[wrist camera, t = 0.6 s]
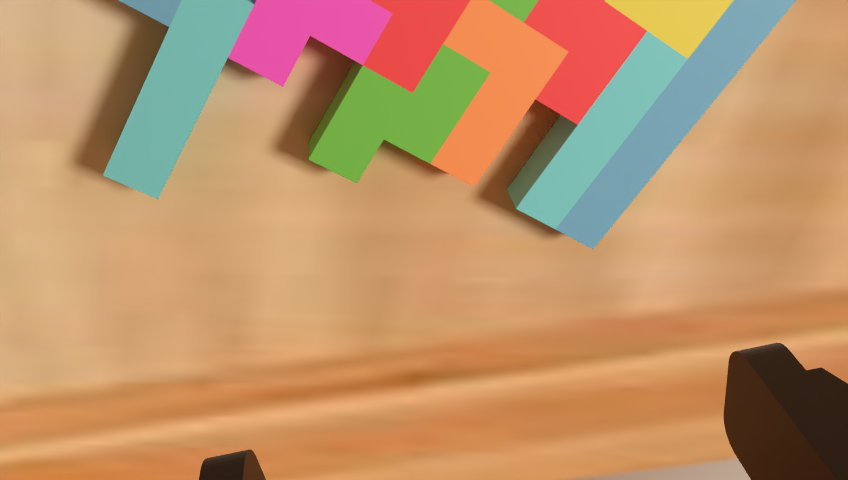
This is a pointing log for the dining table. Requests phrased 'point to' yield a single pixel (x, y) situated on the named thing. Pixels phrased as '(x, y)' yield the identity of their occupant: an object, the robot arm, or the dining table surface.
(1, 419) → the dining table surface
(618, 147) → the tetris game
